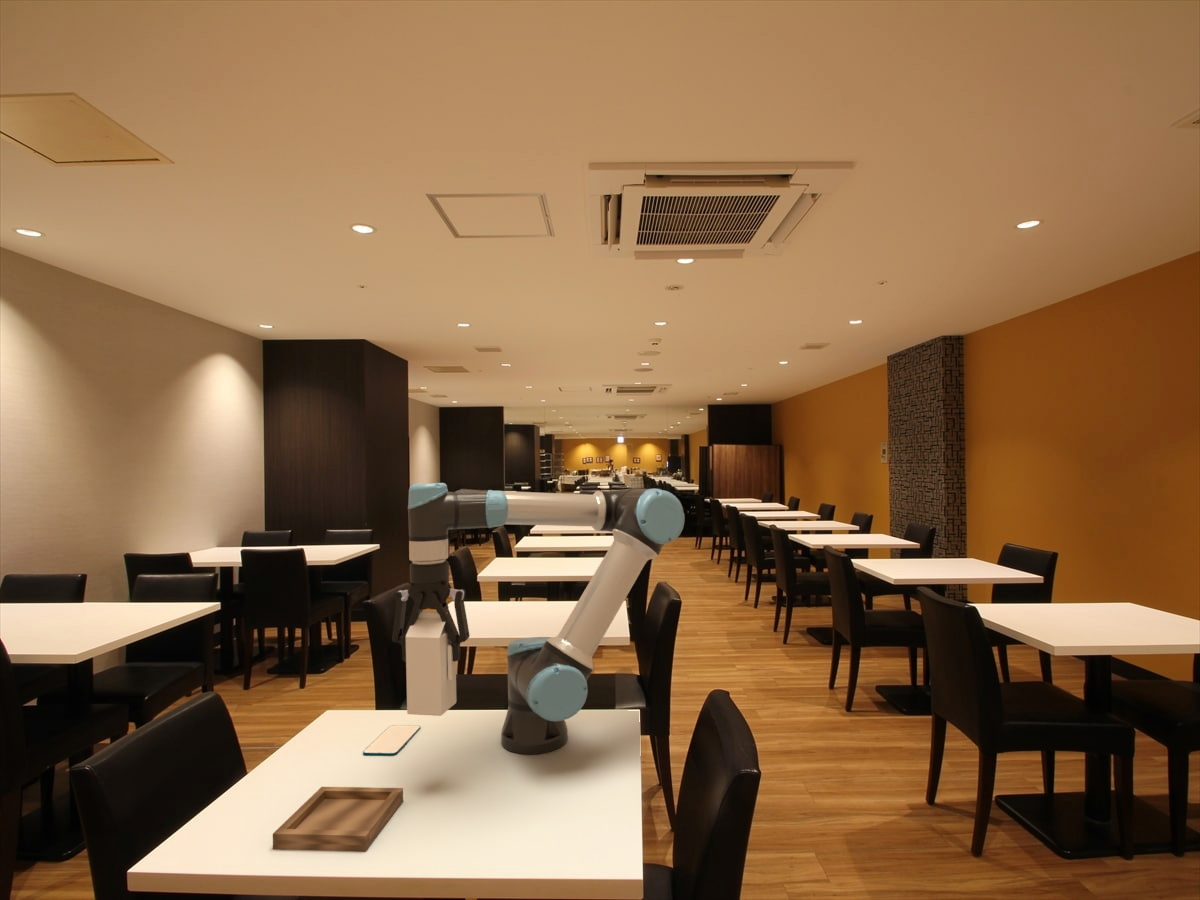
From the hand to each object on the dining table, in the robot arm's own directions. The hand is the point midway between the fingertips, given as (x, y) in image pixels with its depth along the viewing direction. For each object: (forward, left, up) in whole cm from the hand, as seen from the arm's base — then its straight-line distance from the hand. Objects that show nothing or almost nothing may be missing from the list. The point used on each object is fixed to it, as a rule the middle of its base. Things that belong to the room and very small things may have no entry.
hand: (431, 677), depth 128 cm
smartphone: (+17, -22, -22) cm, 36 cm away
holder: (+12, +13, -22) cm, 28 cm away
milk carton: (0, 0, -6) cm, 6 cm away
